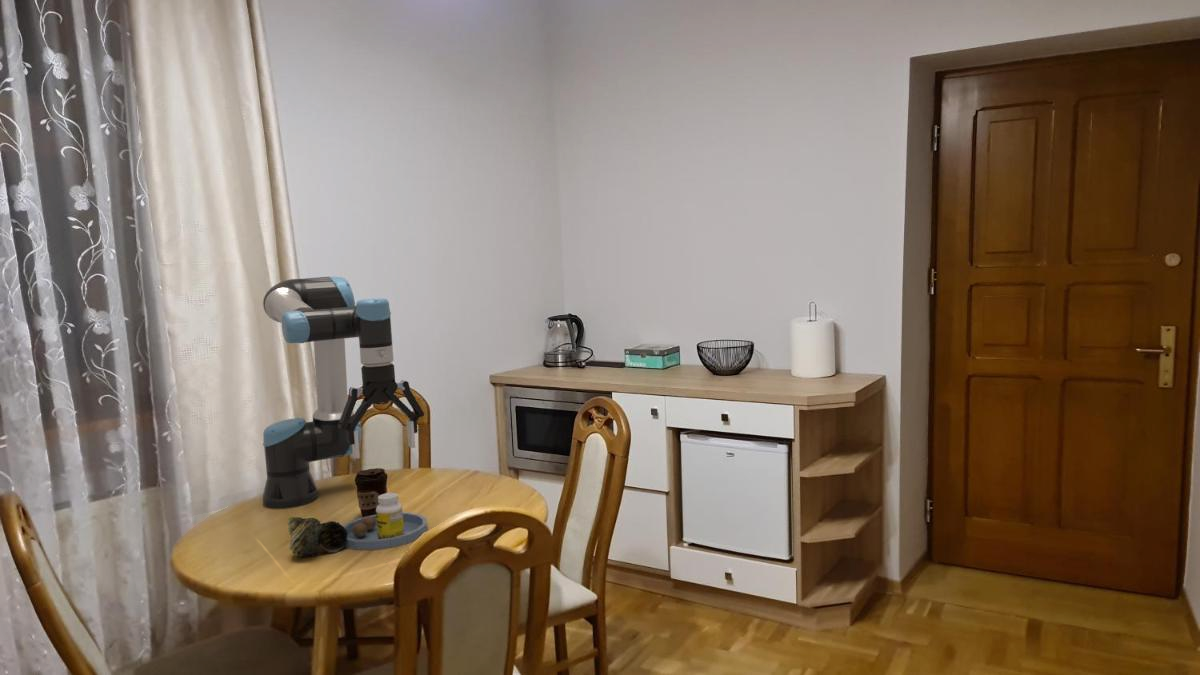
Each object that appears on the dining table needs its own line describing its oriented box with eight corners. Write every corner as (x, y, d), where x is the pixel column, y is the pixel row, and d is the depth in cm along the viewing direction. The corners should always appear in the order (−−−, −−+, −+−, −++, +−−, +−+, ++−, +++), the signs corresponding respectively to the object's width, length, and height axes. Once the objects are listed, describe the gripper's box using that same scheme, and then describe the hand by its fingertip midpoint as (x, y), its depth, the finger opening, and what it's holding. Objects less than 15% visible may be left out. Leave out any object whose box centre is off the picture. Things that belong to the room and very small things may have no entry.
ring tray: (328, 536, 200) (327, 525, 199) (408, 517, 211) (407, 506, 211) (355, 560, 182) (354, 548, 182) (440, 537, 194) (440, 526, 194)
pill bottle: (373, 540, 192) (369, 496, 191) (396, 533, 197) (393, 490, 195) (385, 546, 188) (382, 501, 187) (409, 539, 192) (405, 494, 191)
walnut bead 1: (351, 536, 196) (350, 523, 196) (365, 533, 198) (364, 519, 198) (355, 540, 193) (354, 526, 193) (370, 537, 195) (368, 523, 195)
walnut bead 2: (360, 530, 200) (359, 516, 200) (373, 527, 202) (372, 513, 202) (364, 533, 198) (363, 520, 197) (378, 530, 200) (377, 517, 199)
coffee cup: (380, 524, 207) (376, 475, 205) (351, 524, 208) (347, 475, 207) (395, 513, 215) (392, 466, 214) (367, 513, 217) (363, 466, 215)
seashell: (328, 566, 179) (324, 523, 178) (282, 565, 182) (278, 522, 180) (351, 549, 190) (347, 508, 189) (307, 548, 192) (304, 507, 191)
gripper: (328, 372, 178) (336, 465, 180) (433, 359, 192) (439, 445, 194) (319, 369, 184) (327, 458, 186) (421, 356, 198) (427, 440, 200)
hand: (384, 452), depth 190 cm, fingers open, 13 cm apart
